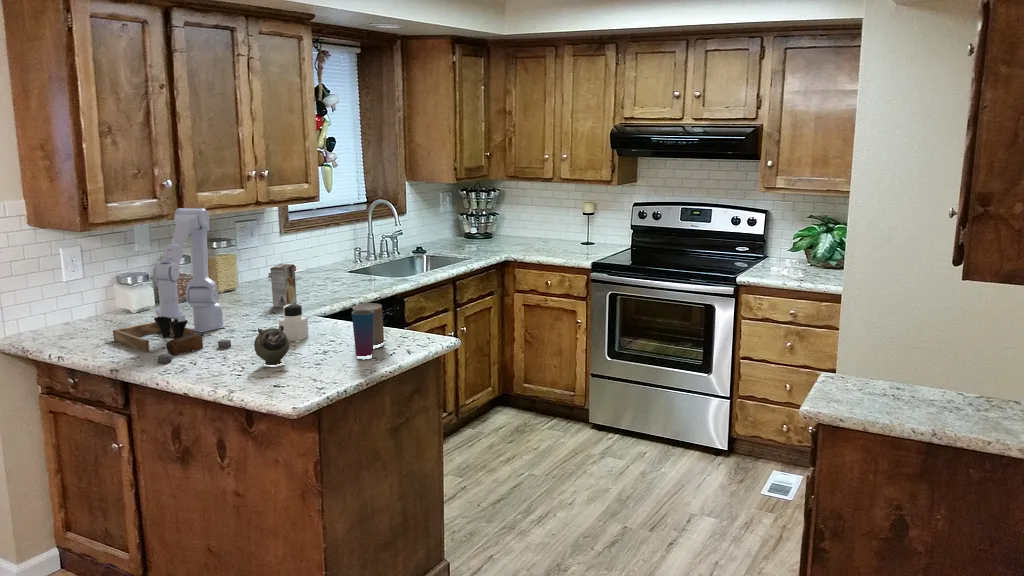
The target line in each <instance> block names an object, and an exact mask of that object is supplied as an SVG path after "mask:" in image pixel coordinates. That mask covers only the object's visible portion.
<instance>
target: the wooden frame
mask: <svg viewBox="0 0 1024 576" xmlns="http://www.w3.org/2000/svg"><path fill="white" fill-rule="evenodd" d="M189 328H190V327H189ZM189 328H188V327H185V329H184V333H183V337H184V336H188V335H192V334H196V333H195V332H196V331H194V330H192V329H189ZM159 331H160V328H159V326H158V324H157V323H156V321H152V322H147V323H141V324H137V325H133V326H128V327H123V328H122V327H121V328H118V329H113V331H112V334H113V335H112V336H113V342H117V343H119V344H122V345H126V346H128V347H131V348H133V347H134V349H136V350H140V351H143V352H144V353H148V352H150V351H151V350H150V342H149V340H148V339H145V338H142V337H141V336H146V335H149V334H150V333H151V334H155V332H156V333H160V332H161V331H160V332H159ZM171 334H172V336H174V335H173V331H172V328H171V326H170V335H171Z"/></svg>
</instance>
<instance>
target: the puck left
mask: <svg viewBox="0 0 1024 576" xmlns="http://www.w3.org/2000/svg"><path fill="white" fill-rule="evenodd" d="M156 357H157V364H159V365H166V364H170V363H172V362H171V361H172V354H170V353H162V354H159V355H157V356H156Z"/></svg>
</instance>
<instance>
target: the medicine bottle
mask: <svg viewBox="0 0 1024 576" xmlns="http://www.w3.org/2000/svg"><path fill="white" fill-rule="evenodd" d="M282 309H283V317H284V318H282V319H280V320H279V321H278V328H279V327H280V326H283V327H284V330H283V332H284V333H285V334H286V335H287V337H288V340H289V342H291V341H299V342H301V341H303V340H305V339H307V338H309V322H308V317H307V316H303V310H302V305H300V304H299V303H298V304H297V303H294V304H289V305H286V306H284V307H282ZM306 337H307V338H306ZM304 338H305V339H304ZM302 339H303V340H302ZM300 340H301V341H300Z"/></svg>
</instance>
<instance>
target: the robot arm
mask: <svg viewBox="0 0 1024 576" xmlns="http://www.w3.org/2000/svg"><path fill="white" fill-rule="evenodd" d="M173 217H174V218H173V219H174V224H175V228H174V232H173V236H172V239H171V243H170V244H167V245H166V246H165V249H164V251H163V253H162V256H161V259H160V260H159V261H160V262H159V263H158V264H156V265H154V267H153V271H152V277H153V279H154V282H155V286H156V287H157V291H158V300H159V301H158V302H159V308H157V309H156V310H155V314H156V316H157V317H154V318H153V319H154V322H156V323H157V324H158V326H159V328H160V333H161V336H162V339H166V338H169V337H171V334H170V326H171V328H172V331H173V335H172V336H173V339H176V338H180V337H183V333H184V329H185V328H186V326H187V325H188V319H186V315H185V314H183V313H182V311H180V305H179V296H178V295H179V292H178V284H177V283H178V281H177V280H178V279H179V278H180V271H181V270H180V269H181V266H180V264H181V260H182V259H183V257H184V256H183V255H184V253H185V251H184V248H183V246H184V244H185V242H186V240H187V239H188V236H189V234H190V237H191V256H192V276H193V277H192V279H191V280H190V281H189V282H188V283H186V291H185V300H186V301H187V303H188V304H189V306H190V307H192V315H193V317H192V318H193V326H192V327H191V326H190V327H189V329H192V330H194V331H195V332H198V333H206V332H209V331H213V330H214V331H215V330H218V329H222V328H225V325H224V321H223V320H224V319H223V318H224V317H223V309H222V306H221V305H220V303H219V302H218V300H219V290H218V286H217V282H216V281H214V280H213V279H211V278H210V277H209V261H208V260H209V257H208V233H207V232H209V231H210V214H209V211H207V209H206V208H188V207H187V208H181V207H179V208H177V209H176V210H175V212H174V216H173Z"/></svg>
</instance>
